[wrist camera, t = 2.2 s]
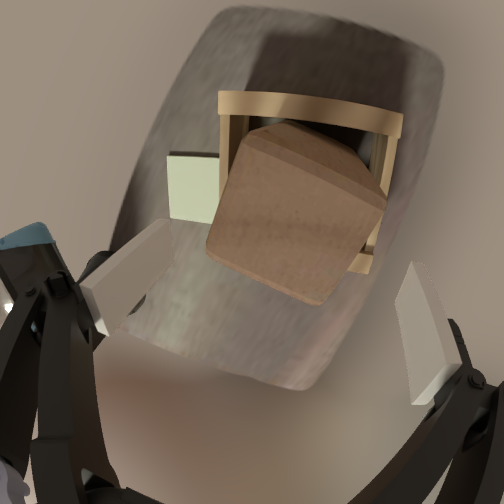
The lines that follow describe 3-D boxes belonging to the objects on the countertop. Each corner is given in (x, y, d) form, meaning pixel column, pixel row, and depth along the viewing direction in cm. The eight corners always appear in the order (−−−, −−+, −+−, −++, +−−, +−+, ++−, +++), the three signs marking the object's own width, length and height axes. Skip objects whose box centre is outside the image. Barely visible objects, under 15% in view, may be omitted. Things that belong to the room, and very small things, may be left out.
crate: (237, 219, 40) (216, 248, 33) (243, 94, 31) (218, 90, 24) (360, 239, 37) (367, 274, 29) (384, 112, 28) (403, 114, 20)
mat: (172, 216, 43) (170, 217, 42) (168, 155, 38) (166, 156, 37) (231, 224, 41) (230, 226, 40) (232, 158, 36) (231, 159, 35)
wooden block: (286, 117, 31) (242, 126, 15) (358, 151, 31) (397, 201, 14) (258, 184, 37) (197, 258, 20) (324, 215, 37) (320, 315, 20)
